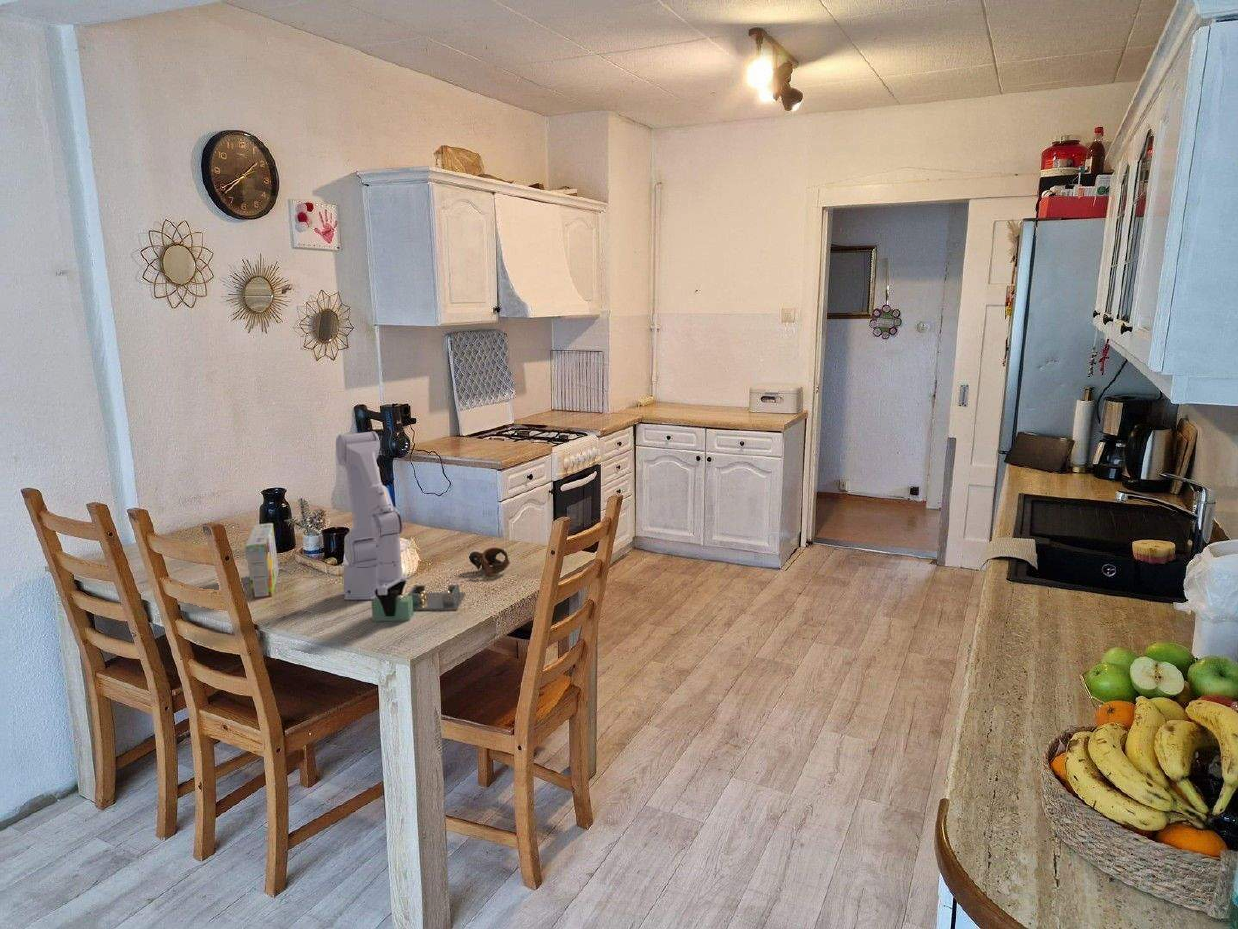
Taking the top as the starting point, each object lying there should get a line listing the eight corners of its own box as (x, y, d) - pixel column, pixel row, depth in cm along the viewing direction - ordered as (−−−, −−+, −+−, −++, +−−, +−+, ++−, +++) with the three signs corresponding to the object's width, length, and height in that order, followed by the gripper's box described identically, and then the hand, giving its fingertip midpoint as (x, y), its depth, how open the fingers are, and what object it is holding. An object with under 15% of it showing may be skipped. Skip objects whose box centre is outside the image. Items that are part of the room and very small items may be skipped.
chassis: (402, 610, 204) (401, 597, 203) (413, 595, 215) (412, 582, 214) (457, 610, 204) (456, 597, 203) (465, 594, 215) (464, 582, 214)
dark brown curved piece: (510, 567, 238) (514, 548, 233) (502, 590, 231) (506, 571, 226) (471, 557, 238) (473, 538, 233) (462, 580, 230) (464, 561, 225)
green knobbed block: (372, 621, 198) (371, 598, 197) (377, 614, 202) (375, 593, 201) (409, 620, 198) (407, 598, 197) (413, 614, 202) (411, 592, 201)
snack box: (259, 574, 233) (253, 524, 230) (279, 571, 235) (274, 522, 232) (250, 599, 214) (244, 545, 210) (273, 596, 215) (267, 542, 212)
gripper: (397, 569, 190) (401, 623, 192) (412, 550, 204) (416, 601, 207) (367, 570, 190) (371, 624, 192) (385, 551, 204) (388, 601, 207)
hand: (392, 612), depth 200 cm, fingers closed on green knobbed block, 4 cm apart
